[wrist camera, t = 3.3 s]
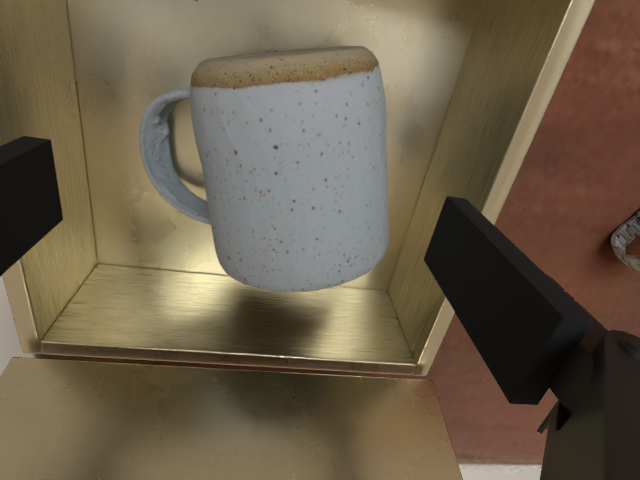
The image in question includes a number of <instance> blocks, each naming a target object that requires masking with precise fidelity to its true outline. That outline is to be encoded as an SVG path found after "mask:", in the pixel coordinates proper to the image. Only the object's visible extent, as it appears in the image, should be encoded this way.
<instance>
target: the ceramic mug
mask: <svg viewBox="0 0 640 480" xmlns="http://www.w3.org/2000/svg"><path fill="white" fill-rule="evenodd" d="M186 99H190V105H191V117H192V125H193V130H194V136H195V141H196V145H197V149H198V153H199V158H200V162H201V166H202V172H203V178H204V185H205V191H206V197H207V201H206V200H203V199H202V198H200V197H198V196H196V195H195V194H194V193H193V192H192V191H190V190H189V189H188V188H187V187H186V186H185V185H184V184H183V183H182V182H181V180H180V179H179V177H178V174H177V173H176V171H175V170H174V166H173V161H172V156H171V149H170V143H169V134H170V129H169V126H168V123H167V119H168V117H169V114H170V112H171V111H172V110H173V109H174V107H175V106H176V105H177V103H178V102H180V101H182V100H186ZM139 140H140V143H139V145H140V152H141V156H142V161H143V164H144V167H145V170H146V173H147V175H148V177H149V179H150V181H151V182H152V184H153V186H154V187H155V189H156V190H157V191H158V193H159V194H160V195H161V196H162V197H163V198H164V199H165V200H166V201H167V202H168V203H169V204H170V205H172V206H173V207H174V208H176V209H177V210H178V211H180V212H181V213H183V214H185V215H187V216H189V217H190V218H192V219H195V220H197V221H200V222H203V223H206V224H210V225H211V228H212V234H213V240H214V246H215V251H216V255H217V258H218V261H219V264H220V265H221V267H222V268H223V269H224V271H225V272H226V274H228V275H229V276H231V277H232V278H233V279H235V280H237V281H239V282H241V283H243V284H245V285H248V286H251V287H255V288H259V289H264V290H268V291H275V292H307V291H317V290H321V289H326V288H331V287H335V286H338V285H341V284H344V283H347V282H349V281H352V280H355V279H357V278H359V277H361V276H362V275H364V274H366V273H368V272H369V271H370V270H371V269H373V268H374V267H375V266H376V265H377V264H378V263H379V262H380V261H381V259H382V258H383V257H384V255H385V253H386V251H387V249H388V244H389V223H388V172H387V152H386V99H385V93H384V86H383V80H382V75H381V70H380V66H379V62H378V60H377V58H376V57H375V55H374V54H373V53H372V52H371V51H370V50H369V49H367V48H366V47H363V46H340V47H327V48H313V49H298V50H287V51H277V52H266V53H254V54H245V55H234V56H226V57H218V58H210V59H206V60H204V61H202V62H200V63H199V64H198V66H197V67H196V69H195V70H194V72H193V73H192V76H191V84H190V86H189V87H184V88H180V89H177V90H173V91H170V92H167V93H165V94H163V95H161V96H160V97H158V98H157V99H155V100H153V101H152V102H151V103H150V104H149V105H148V107H147V109H146V111H145V112H144V114H143V117H142V120H141V123H140V129H139Z"/></svg>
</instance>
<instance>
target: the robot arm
mask: <svg viewBox="0 0 640 480" xmlns="http://www.w3.org/2000/svg"><path fill="white" fill-rule="evenodd" d="M62 220H63V214H62V207H61V201H60V194H59V188H58V181H57V175H56V169H55V162H54V156H53V149H52V143H51V140H50V139H43V138H36V137H28V136H22V137H20V138H17V139H15V140H13V141H10V142H8V143H6V144H4V145H1V146H0V276H1V275H2V274H4V273H5V272H6V271H7V270H8V269H9V268H10V267H11V266H12V265H14V264H15V263H16V262H17V261H18V260H19V259H20V258H21V257H22V256H24V255H25V254H26V253H27V252H28V251H29V250H30V249H31V248H32V247H33V246H35V245H36V244H37V243H38V242H39V241H40V240H41V239H42V238H43V237H45V236H46V235H47V234H48V233H49V232H50V231H51V230H52V229H53V228H54V227H56V226H57V225H58V224H59V223H60V222H61V221H62ZM423 260H424V261H425V263H426V265H427V266H428V268H429V270H430V271H431V273H432V275H433V276H434V278H435V280H436V281H437V283H438V285H439V286H440V288H441V290H442V291H443V293H444V295H445V296H446V298H447V300H448V301H449V303H450V305H451V306H452V308H453V310H454V311H455V313H456V315H457V316H458V318H459V320H460V321H461V323H462V325H463V326H464V328H465V330H466V331H467V333H468V335H469V336H470V338H471V340H472V341H473V343H474V345H475V346H476V348H477V350H478V351H479V353H480V355H481V356H482V358H483V360H484V361H485V363H486V365H487V366H488V368H489V370H490V371H491V373H492V375H493V376H494V378H495V380H496V381H497V383H498V385H499V386H500V388H501V390H502V391H503V393H504V395H505V396H506V398H507V400H508V401H509V403H510V404H531V405H538V403H539V402H540V400H541V399H542V397H543V396H544V394H545V393H546V391H547V390H548V388H550V389H551V390H552V392H553V393H554V394H555V396H556V397H557V398H558V401H557V403H556V404H555V405H554V407H553V408H552V410H551V411H550V412H549V414H548V415H547V417H546V418H545V420H544V421H543V422H542V424H541V425H540V427H539V428H538V430H537V431H538V432H540V433H541V434H542V433H543V431H544V430H545V429H548V433H547V439H546V445H545V451H544V458H543V464H542V470H541V476H540V480H640V338H639V337H637V336H634V335H632V334H629V333H626V332H623V331H616V330H611V331H608V330H607V329H605V328H604V327H603V326H602V325H601V324H600V323H599V322H598V321H597V320H596V319H595V318H594V317H593V316H592V315H591V314H590V313H588V312H587V311H586V310H585V309H584V308H583V307H582V306H581V305H580V304H579V303H578V302H576V301H574V298H573V297H572V296H570V295H569V294H568V293H567V292H564V289H563V288H562V287H561V286H560V285H559V284H558V283H557V282H556V281H555V280H553V279H552V278H551V277H549V276H548V275H546V274H545V273H544V272H543V271H541V270H540V269H539V268H538V267H537V266H536V265H535V264H534V263H533V262H532V261H531V260H530V259H529V258H528V257H527V256H526V255H525V254H524V253H523V252H521V251H520V250H519V249H518V248H517V247H516V246H515V245H514V244H513V243H512V242H511V241H510V240H509V239H508V238H507V237H506V236H505V235H504V234H503V233H501V232H500V231H499V230H498V229H497V228H496V227H495V226H494V225H493V224H492V223H491V222H490V221H489V220H488V219H487V218H486V217H485V216H484V215H483V214H482V213H480V212H479V211H478V210H477V209H476V208H475V207H474V206H473V205H472V204H471V203H470V202H469V201H468V200H467V199H465V198H458V197H451V196H446V199H445V202H444V204H443V207H442V210H441V213H440V215H439V218H438V221H437V224H436V226H435V229H434V232H433V235H432V237H431V240H430V243H429V246H428V248H427V251H426V254H425V257H424V259H423Z"/></svg>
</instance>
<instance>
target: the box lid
mask: <svg viewBox="0 0 640 480" xmlns="http://www.w3.org/2000/svg"><path fill="white" fill-rule="evenodd" d="M0 480H463V479H462V475H461V472H460V469H459V465H458V462H457V459H456V456H455V452H454V449H453V446H452V442H451V439H450V436H449V433H448V429H447V426H446V423H445V420H444V416H443V413H442V410H441V407H440V403H439V400H438V397H437V393H436V390H435V387H434V384H433V381H432V380H417V379H399V378H381V377H363V376H345V375H327V374H309V373H291V372H273V371H255V370H236V369H218V368H200V367H182V366H164V365H146V364H128V363H110V362H92V361H74V360H56V359H38V358H20V357H13V358H12V359H11V361H10V362H9V364H8V365H7V367H6V368H5V370H4V371H3V373H2V375H1V376H0Z"/></svg>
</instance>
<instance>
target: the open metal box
mask: <svg viewBox="0 0 640 480" xmlns="http://www.w3.org/2000/svg"><path fill="white" fill-rule="evenodd" d="M594 2H595V0H0V146H1V145H4V144H6V143H8V142H10V141H13V140H15V139H17V138H20V137H22V136H28V137H36V138H43V139H50V140H51V143H52V149H53V156H54V162H55V169H56V175H57V181H58V188H59V194H60V201H61V207H62V214H63V220H62V221H61V222H60V223H59V224H58V225H57V226H56V227H54V228H53V229H52V230H51V231H50V232H49V233H48V234H47V235H46V236H45V237H43V238H42V239H41V240H40V241H39V242H38V243H37V244H36V245H35V246H33V247H32V248H31V249H30V250H29V251H28V252H27V253H26V254H25V255H24V256H22V257H21V258H20V259H19V260H18V261H17V262H16V263H15V264H14V265H12V266H11V267H10V268H9V269H8V270H7V271H6V272H5V273H4V274H2V276H3V280H4V284H5V287H6V291H7V295H8V299H9V303H10V306H11V310H12V314H13V318H14V321H15V325H16V329H17V332H18V336H19V340H20V344H21V348H22V351H23V353H34V354H42V353H43V354H50V355H68V356H85V357H103V358H120V359H138V360H155V361H173V362H190V363H208V364H225V365H243V366H260V367H278V368H295V369H313V370H330V371H348V372H365V373H383V374H400V375H415V376H426V375H427V373H428V371H429V369H430V367H431V364H432V362H433V360H434V358H435V355H436V353H437V351H438V349H439V347H440V344H441V342H442V340H443V338H444V335H445V333H446V331H447V329H448V327H449V324H450V322H451V320H452V318H453V316H454V313H455V311H454V310H453V308H452V306H451V305H450V303H449V301H448V300H447V298H446V296H445V295H444V293H443V291H442V290H441V288H440V286H439V285H438V283H437V281H436V280H435V278H434V276H433V275H432V273H431V271H430V270H429V268H428V266H427V265H426V263H425V261H424V260H423V259H424V257H425V254H426V251H427V248H428V246H429V243H430V240H431V237H432V235H433V232H434V229H435V226H436V224H437V221H438V218H439V215H440V213H441V210H442V207H443V204H444V202H445V199H446V196H451V197H458V198H465V199H467V200H468V201H469V202H470V203H471V204H472V205H473V206H474V207H475V208H476V209H477V210H478V211H479V212H480V213H482V214H483V215H484V216H485V217H486V218H487V219H488V220H489V221H490V222H491V223H492V224H493V225H494V224H495V222H496V220H497V218H498V216H499V213H500V211H501V209H502V207H503V204H504V202H505V200H506V198H507V196H508V193H509V191H510V189H511V187H512V185H513V182H514V180H515V178H516V176H517V173H518V171H519V169H520V167H521V165H522V162H523V160H524V158H525V156H526V153H527V151H528V149H529V147H530V145H531V142H532V140H533V138H534V136H535V133H536V131H537V129H538V127H539V125H540V122H541V120H542V118H543V116H544V113H545V111H546V109H547V107H548V105H549V102H550V100H551V98H552V96H553V93H554V91H555V89H556V87H557V85H558V82H559V80H560V78H561V76H562V73H563V71H564V69H565V67H566V65H567V62H568V60H569V58H570V56H571V54H572V51H573V49H574V47H575V45H576V42H577V40H578V38H579V36H580V34H581V31H582V29H583V27H584V25H585V22H586V20H587V18H588V16H589V14H590V11H591V9H592V7H593V5H594ZM340 46H363V47H366V48H367V49H369V50H370V51H371V52H372V53H373V54H374V55H375V57H376V58H377V60H378V62H379V66H380V70H381V75H382V80H383V86H384V93H385V99H386V152H387V172H388V223H389V244H388V249H387V251H386V253H385V255H384V257H383V258H382V259H381V261H380V262H379V263H378V264H377V265H376V266H375V267H374V268H373V269H371V270H370V271H369V272H368V273H366V274H364V275H362V276H361V277H359V278H357V279H355V280H352V281H349V282H347V283H344V284H341V285H338V286H335V287H331V288H326V289H321V290H317V291H307V292H275V291H268V290H264V289H259V288H255V287H251V286H248V285H245V284H243V283H241V282H239V281H237V280H235V279H233V278H232V277H231V276H229V275H228V274H226V272H225V271H224V269H223V268H222V267H221V265H220V264H219V261H218V258H217V255H216V251H215V246H214V240H213V234H212V228H211V225H210V224H206V223H203V222H200V221H197V220H195V219H192V218H190V217H189V216H187V215H185V214H183V213H181V212H180V211H178V210H177V209H176V208H174V207H173V206H172V205H170V204H169V203H168V202H167V201H166V200H165V199H164V198H163V197H162V196H161V195H160V194H159V193H158V191H157V190H156V189H155V187H154V186H153V184H152V182H151V181H150V179H149V177H148V175H147V173H146V170H145V167H144V164H143V161H142V156H141V152H140V145H139V143H140V140H139V129H140V123H141V120H142V117H143V114H144V112H145V111H146V109H147V107H148V105H149V104H150V103H151V102H152V101H153V100H155V99H157V98H158V97H160V96H161V95H163V94H165V93H167V92H170V91H173V90H177V89H180V88H184V87H189V86H190V84H191V76H192V73H193V72H194V70H195V69H196V67H197V66H198V64H199V63H200V62H202V61H204V60H206V59H210V58H218V57H226V56H234V55H245V54H254V53H266V52H277V51H287V50H298V49H313V48H327V47H340ZM167 123H168V126H169V129H170V134H169V143H170V149H171V156H172V161H173V166H174V170H175V171H176V173H177V174H178V177H179V179H180V180H181V182H182V183H183V184H184V185H185V186H186V187H187V188H188V189H189V190H190V191H192V192H193V193H194V194H195V195H196V196H198V197H200V198H202V199H203V200H206V201H207V197H206V191H205V185H204V178H203V172H202V166H201V162H200V158H199V153H198V149H197V145H196V141H195V136H194V130H193V125H192V117H191V105H190V99H186V100H182V101H180V102H178V103H177V105H176V106H175V107H174V109H173V110H172V111H171V112H170V114H169V117H168V119H167Z"/></svg>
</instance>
